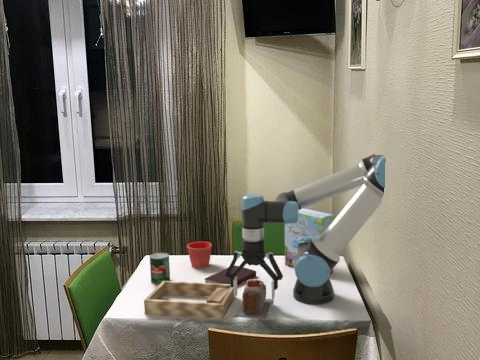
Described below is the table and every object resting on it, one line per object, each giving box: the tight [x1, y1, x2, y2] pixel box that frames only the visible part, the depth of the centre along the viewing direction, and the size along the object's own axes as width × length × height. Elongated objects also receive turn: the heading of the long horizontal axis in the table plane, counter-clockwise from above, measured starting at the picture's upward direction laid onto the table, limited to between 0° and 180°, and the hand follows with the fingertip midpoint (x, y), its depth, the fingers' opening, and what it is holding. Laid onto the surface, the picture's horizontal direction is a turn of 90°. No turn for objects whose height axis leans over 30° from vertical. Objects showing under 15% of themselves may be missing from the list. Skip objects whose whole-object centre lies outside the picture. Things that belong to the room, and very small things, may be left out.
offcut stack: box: [206, 288, 229, 304], centre depth 185 cm, size 6×15×5 cm, turn 168°
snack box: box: [283, 208, 335, 275], centre depth 221 cm, size 22×9×26 cm, turn 42°
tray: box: [143, 280, 236, 320], centre depth 187 cm, size 28×19×5 cm
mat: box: [234, 298, 274, 319], centre depth 184 cm, size 11×16×1 cm
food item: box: [241, 278, 267, 315], centre depth 183 cm, size 14×8×10 cm, turn 174°
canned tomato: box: [149, 252, 171, 285], centre depth 212 cm, size 8×8×11 cm
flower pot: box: [186, 241, 213, 269], centre depth 230 cm, size 11×11×10 cm
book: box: [204, 264, 257, 287], centre depth 212 cm, size 12×19×3 cm, turn 143°
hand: (254, 296), depth 183 cm, fingers open, 13 cm apart
